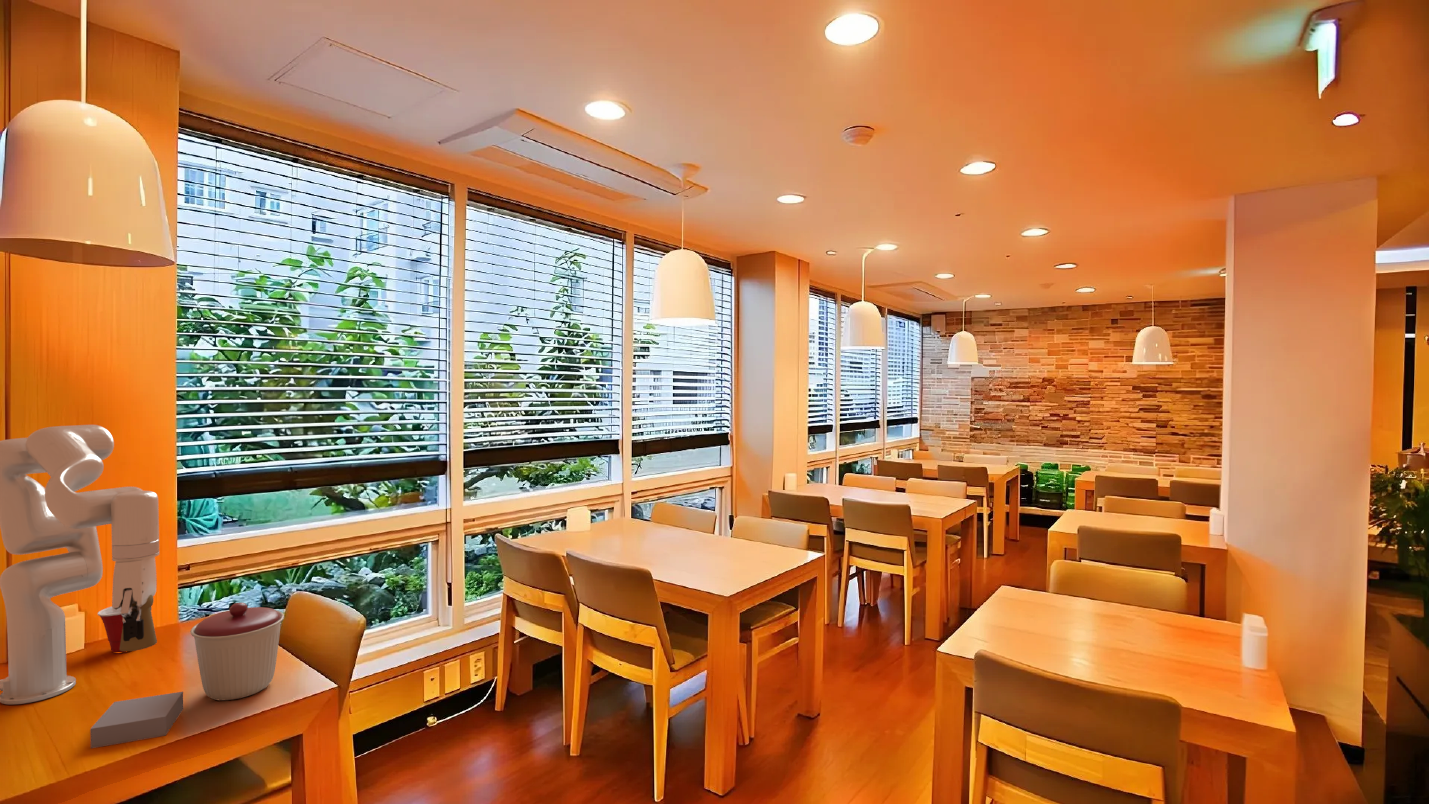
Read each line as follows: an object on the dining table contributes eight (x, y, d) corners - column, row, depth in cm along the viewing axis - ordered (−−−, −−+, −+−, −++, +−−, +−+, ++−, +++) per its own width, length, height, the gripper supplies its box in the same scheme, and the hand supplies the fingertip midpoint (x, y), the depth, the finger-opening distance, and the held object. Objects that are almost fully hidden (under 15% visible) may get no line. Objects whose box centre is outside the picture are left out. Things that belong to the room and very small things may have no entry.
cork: (164, 640, 143) (163, 590, 143) (137, 652, 137) (136, 599, 137) (139, 639, 144) (138, 589, 143) (111, 650, 138) (110, 598, 137)
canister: (211, 717, 146) (210, 622, 145) (178, 695, 155) (176, 606, 154) (299, 685, 161) (298, 599, 160) (263, 667, 171) (262, 586, 170)
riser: (90, 748, 133) (90, 728, 133) (114, 720, 144) (114, 702, 144) (165, 735, 138) (165, 716, 138) (183, 708, 149) (183, 691, 149)
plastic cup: (119, 642, 185) (118, 599, 185) (161, 640, 186) (160, 598, 186) (86, 658, 175) (85, 613, 174) (131, 657, 176) (130, 612, 175)
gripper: (128, 542, 146) (130, 624, 146) (96, 562, 130) (98, 653, 131) (171, 539, 149) (172, 620, 149) (144, 558, 134) (146, 647, 134)
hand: (137, 634), depth 140 cm, fingers closed on cork, 4 cm apart
